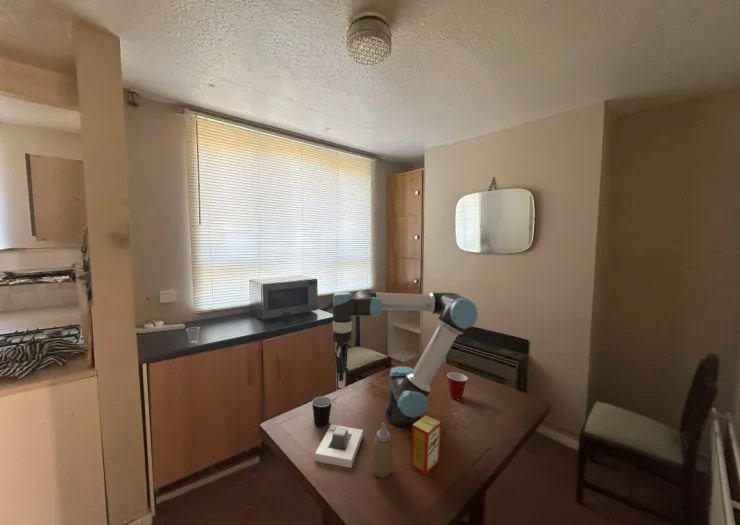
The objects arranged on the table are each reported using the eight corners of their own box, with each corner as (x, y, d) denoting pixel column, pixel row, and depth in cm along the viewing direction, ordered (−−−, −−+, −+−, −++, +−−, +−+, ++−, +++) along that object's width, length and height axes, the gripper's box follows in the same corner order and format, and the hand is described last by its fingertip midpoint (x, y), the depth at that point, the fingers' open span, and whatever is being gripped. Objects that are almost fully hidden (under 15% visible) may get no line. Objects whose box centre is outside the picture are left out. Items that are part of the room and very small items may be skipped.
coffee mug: (327, 430, 130) (327, 408, 130) (308, 427, 132) (309, 405, 131) (335, 415, 142) (336, 394, 141) (318, 412, 143) (318, 392, 143)
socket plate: (362, 436, 127) (362, 427, 127) (351, 467, 109) (351, 458, 109) (330, 431, 130) (331, 422, 129) (314, 460, 112) (315, 451, 112)
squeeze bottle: (369, 463, 112) (371, 417, 110) (391, 463, 112) (393, 416, 111) (371, 481, 104) (373, 431, 102) (394, 480, 104) (396, 430, 103)
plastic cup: (470, 397, 162) (471, 376, 161) (460, 405, 154) (461, 382, 153) (452, 390, 169) (453, 369, 168) (441, 396, 162) (442, 375, 161)
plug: (347, 444, 121) (348, 428, 121) (344, 452, 117) (344, 435, 116) (335, 442, 122) (336, 426, 122) (331, 450, 118) (332, 433, 117)
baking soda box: (425, 475, 107) (427, 432, 106) (410, 465, 112) (412, 423, 110) (439, 461, 114) (441, 420, 113) (424, 452, 119) (426, 413, 117)
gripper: (337, 325, 129) (337, 378, 131) (328, 335, 116) (328, 394, 118) (354, 326, 128) (353, 380, 130) (347, 336, 115) (347, 395, 117)
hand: (341, 386), depth 124 cm, fingers closed
